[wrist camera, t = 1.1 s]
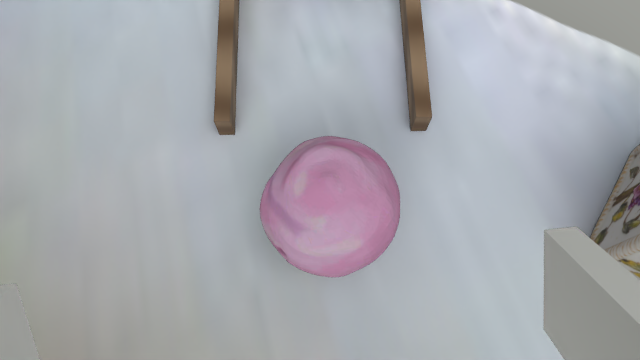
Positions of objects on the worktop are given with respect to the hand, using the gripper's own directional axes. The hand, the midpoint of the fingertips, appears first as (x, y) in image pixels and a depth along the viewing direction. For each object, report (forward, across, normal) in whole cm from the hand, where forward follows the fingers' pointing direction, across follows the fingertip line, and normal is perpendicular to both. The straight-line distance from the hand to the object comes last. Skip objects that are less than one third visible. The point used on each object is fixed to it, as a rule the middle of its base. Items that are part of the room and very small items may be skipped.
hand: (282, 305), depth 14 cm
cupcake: (+26, 0, -9) cm, 27 cm away
